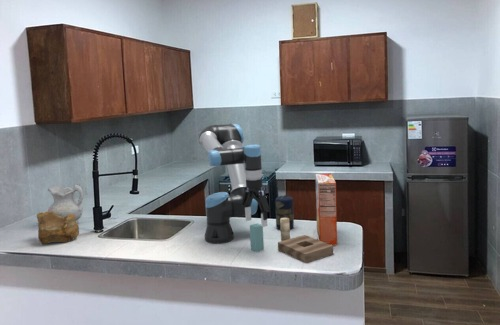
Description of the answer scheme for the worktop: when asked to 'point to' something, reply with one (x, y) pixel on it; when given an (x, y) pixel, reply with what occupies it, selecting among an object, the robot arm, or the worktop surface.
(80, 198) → the ceramic pitcher
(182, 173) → the worktop surface
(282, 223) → the round dowel
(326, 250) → the socket block
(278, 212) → the canister
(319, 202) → the pasta box
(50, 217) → the rough brown rock
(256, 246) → the square peg
